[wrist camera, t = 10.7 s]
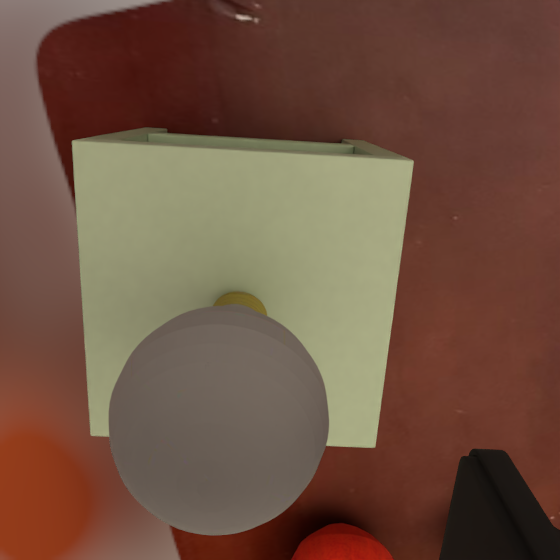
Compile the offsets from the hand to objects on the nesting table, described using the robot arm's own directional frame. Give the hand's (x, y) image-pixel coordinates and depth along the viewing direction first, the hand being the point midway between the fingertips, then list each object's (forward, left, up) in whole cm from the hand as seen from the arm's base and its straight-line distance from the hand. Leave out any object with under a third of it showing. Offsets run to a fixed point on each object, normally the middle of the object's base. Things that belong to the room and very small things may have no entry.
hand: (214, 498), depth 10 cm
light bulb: (0, 0, -11) cm, 11 cm away
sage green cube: (0, 0, -22) cm, 22 cm away
